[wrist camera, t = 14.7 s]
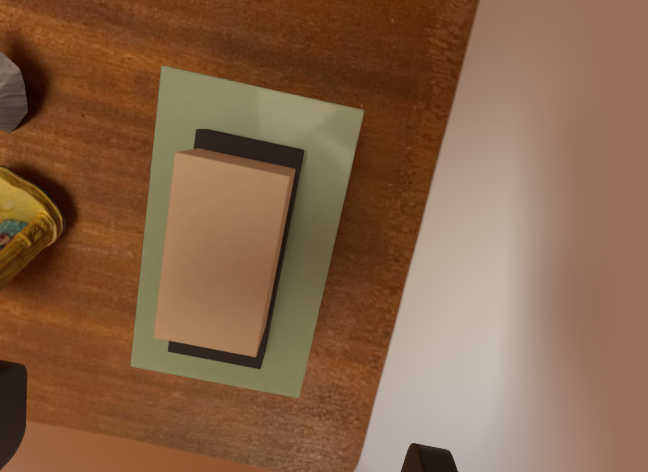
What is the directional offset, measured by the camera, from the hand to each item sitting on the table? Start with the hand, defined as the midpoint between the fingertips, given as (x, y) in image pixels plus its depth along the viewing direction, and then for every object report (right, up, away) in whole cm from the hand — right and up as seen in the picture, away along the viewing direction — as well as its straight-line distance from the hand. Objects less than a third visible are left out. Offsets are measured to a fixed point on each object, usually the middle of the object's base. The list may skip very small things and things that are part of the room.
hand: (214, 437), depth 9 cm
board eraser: (-3, +3, +18) cm, 19 cm away
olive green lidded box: (-3, +6, +28) cm, 29 cm away
